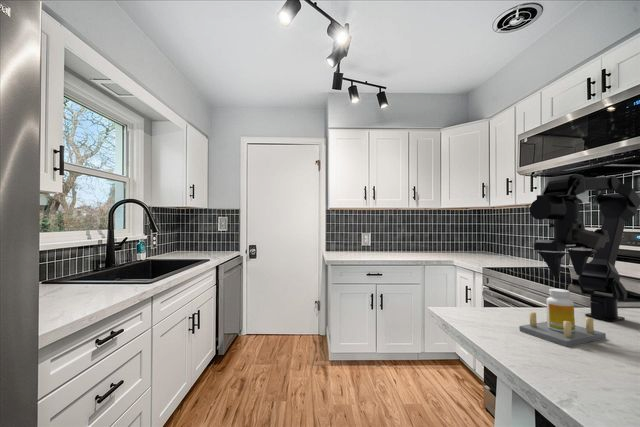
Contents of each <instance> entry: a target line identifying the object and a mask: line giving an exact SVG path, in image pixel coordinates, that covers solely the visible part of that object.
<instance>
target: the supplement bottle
mask: <svg viewBox="0 0 640 427" xmlns="http://www.w3.org/2000/svg"><path fill="white" fill-rule="evenodd" d="M548 290H549V295H550V296H549V297H547V298H546V320H547V321H546V322H547V325H548V328H550V329H552V330H555V331H559V332H564V325H563V321H569V322H571V331H572V332H574V331H575V325H576V322H575V303H574V301H573V300H572V299H570V298H571V297H570V296H571V294H570V293H571V292H570V290H567V289H563V288H549V289H548Z"/></svg>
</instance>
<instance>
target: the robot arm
mask: <svg viewBox="0 0 640 427" xmlns="http://www.w3.org/2000/svg"><path fill="white" fill-rule="evenodd" d="M610 190H612V191H614V192H615V193H605V194H603V193H602V191H610ZM587 191H588V192H589V191H591V192H592V191H594V192H595V195H594V201H595V203H597V205H598V206H599V207H598V210H599V212H600V213H601V215H602V217H603V219H602V223H601V227H600V228H597V229H596V230H589V229H586V226H585V224H584V223H580V210H579V209H580V208H579V205H580V204H583V203H584V202H583V200H582V199H581V198H579V197H578V195H580V194H583V193H585V192H587ZM639 207H640V197H639V195H638V193H637V192H636V191H635V189H634V188H633V187H632V186H629V185H627V184H626V183H623V182H621V181H620V179H619V178H618V177H617V176H613V175H609V176H603V177H602V176H599V177H585V176H584V175H582V174H578V173H573V174H565V175H559V176H558V175H557V176H552V177H550V178H549V179H548V182H546V184H545V186H544V188H543V190H542V192H541V194H537V195H536V199H535V200H534V201H532V203H531V204H530V207H529V214H530V216H531V217H532V218H534V219H535V220H537V221H538V220H539V221H540V220H541V221H548V220H549V221H552V223H549V224H548V225H549V228H552V231H553V233H552V234H553V238H552V237H550V238H549V239H536V240H535V241H534V242H533V251H536V253H537V254H539V255H540V257H541V258H542V259H543V261H544V262H545V264H546V265H547V267H548V269H549V270H550V272H551V274H552V275H553V277H554V278H560V275H561V266H562V258H563V257H564V256H565V255H566V254H567V252H568V256H569V259H570V261H571V264H572V266H573V270H574V272H575V275H576V276H578V277H577V278H578V280H577V281H578V285H579V289H580V292H581V295H587V296H589V298H590V300H589V301H590V302H589V304H590V312H588V313H584V316H585V317H590V318H593V319H598V320H601V321H602V320H603V321H607V322H612V323H613V322H617V321H624V320H625V319H626V318H625V317H624V316H619V312H618V310H619V309H618V308H619V305H618V301H625V300H626V299H627V298H628V290H627V289H626V288H625V286H624V285H623V283H622V282H621V281H620V280H621V279H620V278H621V276H620V273H619V272H618V269H617V268H616V266H615V265H616V261H617V258H618V253H619V249H620V247H621V246H620V245H621V243H622V237H623V233H624V230H625V226H626V222H627V221H629V220H630V219H631V218H633V217H634V216H636V213H637V212H638V210H639ZM566 249H567V252H565V251H566ZM592 255H593V256H592ZM591 256H592V260H590V261H589V262H587V261H588V260H589V258H590V257H591Z"/></svg>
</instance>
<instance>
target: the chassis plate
mask: <svg viewBox="0 0 640 427" xmlns="http://www.w3.org/2000/svg"><path fill="white" fill-rule="evenodd" d="M563 325H564V332H559V331H555V330H552V329H550V328H548V325H547V321H541V322H537V312H534V311H529V324H524V325H518V326H519V327H518V328H519V331H520V332H523V333H525V334H528V335H531V336H534V337H537V338H539V339H543V340H546V341H547V342H551V343H555V344H557V345H560V346H563V347H566V348H567V347H571V346H572V347H573V346H576V345H581V343H582V344H585V343H591V342H596V341H600V340H604V339H606V338H607V337H606V336H607V335H606V333H605V332H602V331H598V330H595V327H594V317H589V316H585V327H583V326H580V325H577V324H575V331H574V332H572V331H571V322H569V321H563Z"/></svg>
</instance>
